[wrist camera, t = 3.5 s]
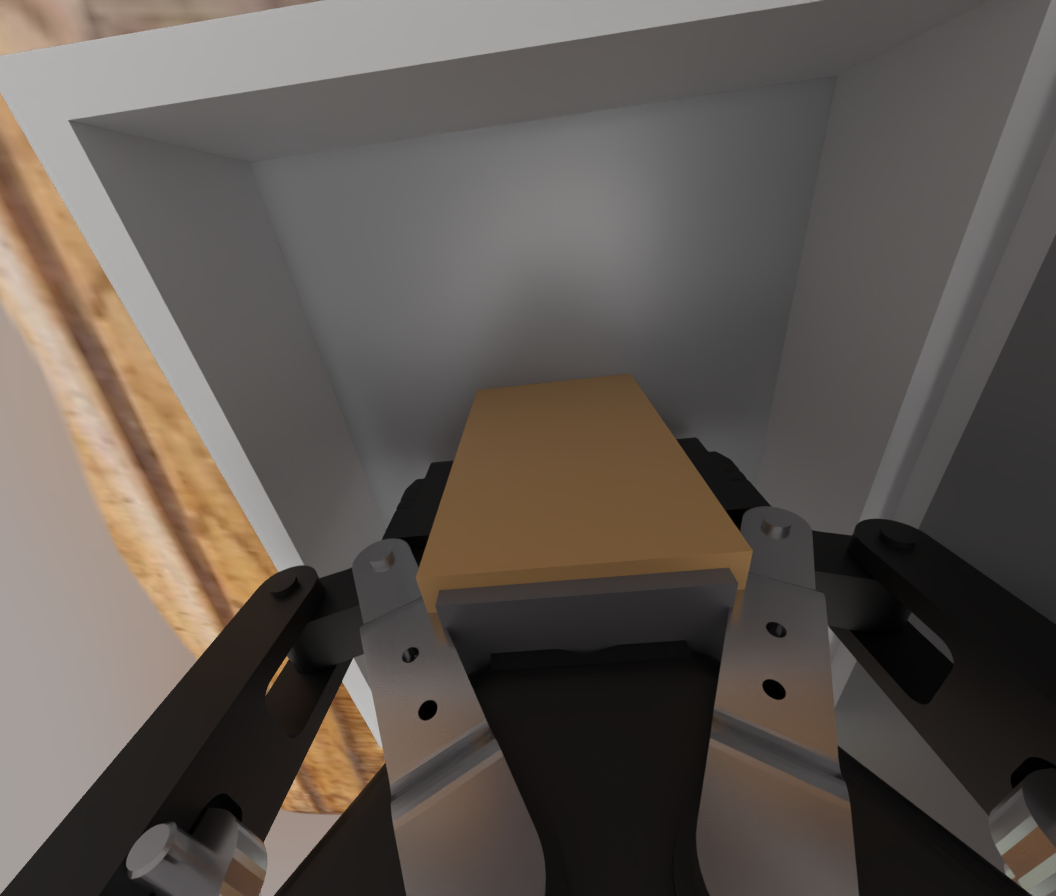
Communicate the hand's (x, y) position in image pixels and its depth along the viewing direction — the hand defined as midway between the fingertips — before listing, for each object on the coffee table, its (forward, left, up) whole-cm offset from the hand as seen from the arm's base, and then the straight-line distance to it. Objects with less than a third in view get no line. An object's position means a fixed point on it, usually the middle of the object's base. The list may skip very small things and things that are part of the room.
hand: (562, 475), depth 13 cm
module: (0, 0, -2) cm, 2 cm away
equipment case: (-1, -1, -3) cm, 3 cm away
